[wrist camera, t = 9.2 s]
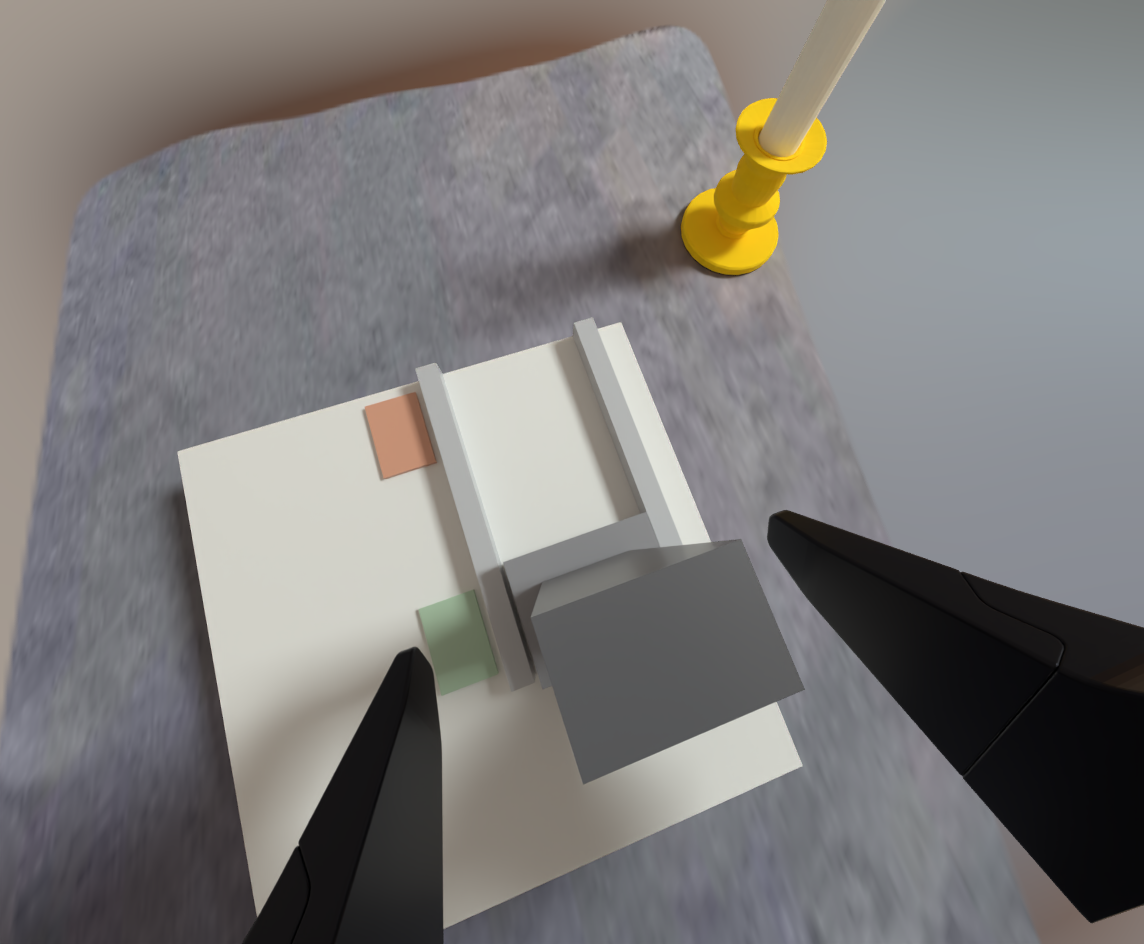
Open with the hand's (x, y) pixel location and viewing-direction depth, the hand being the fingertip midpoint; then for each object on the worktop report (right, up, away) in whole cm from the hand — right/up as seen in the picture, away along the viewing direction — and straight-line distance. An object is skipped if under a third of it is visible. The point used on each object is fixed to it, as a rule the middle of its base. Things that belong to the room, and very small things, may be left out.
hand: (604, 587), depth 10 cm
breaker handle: (0, -2, +5) cm, 5 cm away
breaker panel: (-4, -3, +8) cm, 9 cm away
